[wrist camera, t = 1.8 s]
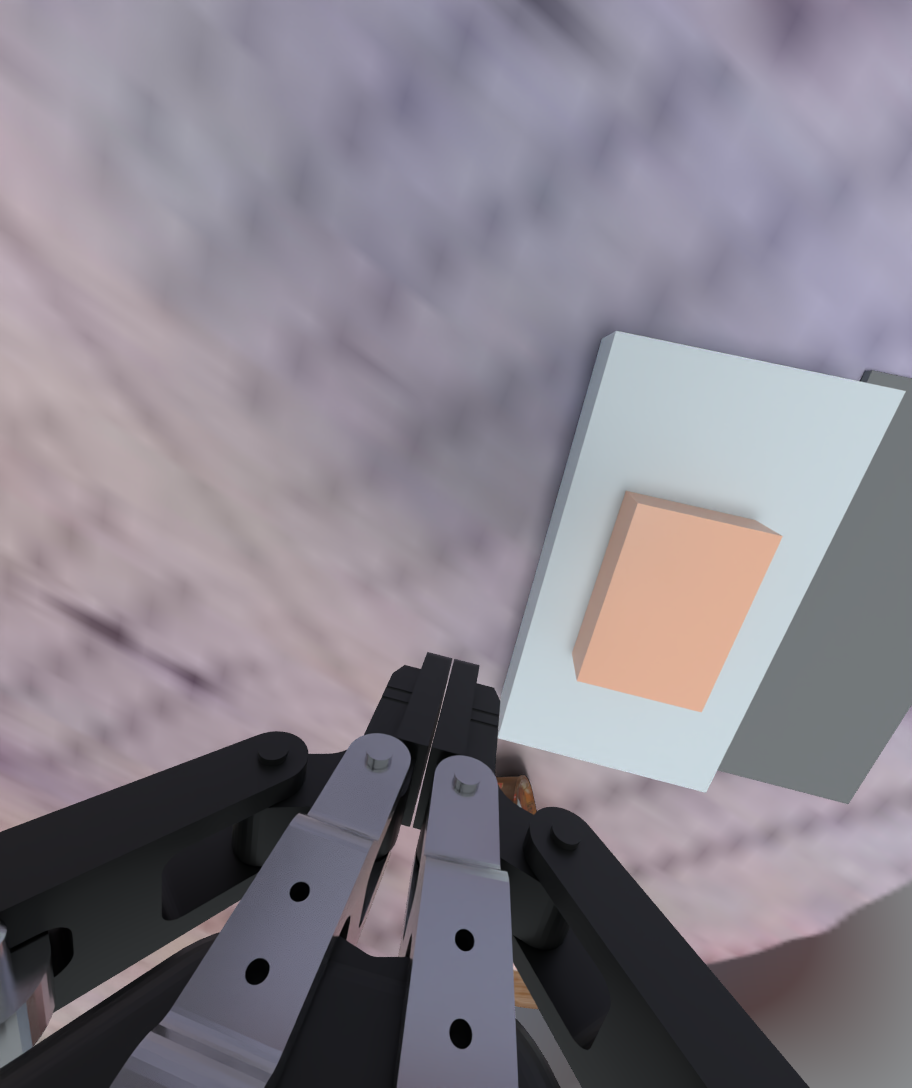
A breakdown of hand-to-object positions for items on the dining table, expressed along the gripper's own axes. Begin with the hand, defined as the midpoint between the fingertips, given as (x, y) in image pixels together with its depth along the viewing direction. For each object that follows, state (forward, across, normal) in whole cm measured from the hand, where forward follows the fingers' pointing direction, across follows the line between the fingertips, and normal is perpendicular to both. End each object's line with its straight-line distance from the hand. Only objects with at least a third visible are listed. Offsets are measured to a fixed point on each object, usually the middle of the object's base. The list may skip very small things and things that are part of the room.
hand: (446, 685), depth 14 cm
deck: (+16, -9, 0) cm, 18 cm away
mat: (+16, -21, 0) cm, 26 cm away
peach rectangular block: (+12, -9, 0) cm, 15 cm away
